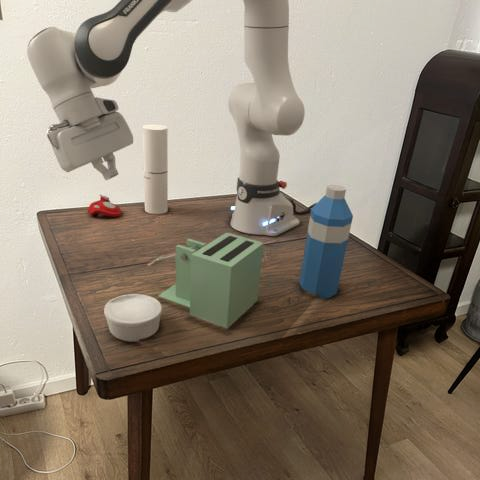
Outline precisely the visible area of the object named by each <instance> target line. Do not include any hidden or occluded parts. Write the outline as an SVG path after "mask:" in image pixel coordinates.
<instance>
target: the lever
mask: <svg viewBox="0 0 480 480" xmlns="http://www.w3.org/2000/svg"><path fill="white" fill-rule="evenodd" d="M188 248H191V249H195V250H196V251H198V250H199V249H198V246H197V244H196V245H192V246H189V247H188ZM171 261H176V253H173V254H170V255H167V256H165V255H161V256H159V257H157V258H155V259H154V260H152V261H150V262H149V263H147V264H146V267H147V268H148V269H152V268H153V267H155V266H157V265H160V264H164V263H167V262H171Z"/></svg>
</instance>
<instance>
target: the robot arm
mask: <svg viewBox="0 0 480 480" xmlns="http://www.w3.org/2000/svg"><path fill="white" fill-rule="evenodd" d="M192 1H193V0H119V2H117V4H116V5H114V6H113V7H112V8H111V9H110V10H108V11H106V12H104V13H100V14H97V15H95V16H94V15H93V16H92V17H90V18H87V19H86V20H84V21H83V22H82V23H81V24H80V25H79V27H78V29H77V30H76V32H72V31H66V30H64V29H63V30H62V29H59V28H58V27H56V26H49V27H46V28H43V29H42V30H40V31H39V32H37V33H36V34H35V35H34V36H32V38H31V39H29V42H28V44H27V49H26V55H27V58H28V61H29V63H30V66H31V68H32V70H33V73H34V74H35V77H36V79H37V81H38V83H39V85H40V87H41V88H42V90H43V91H44V92H45V94H46V95H47V96H48V98H49V99H50V103H51V106H52V109H53V111H54V113H55V115H56V117H57V119H58V121H59V122H58V123H53V124H50V125H49V126H48V129H47V130H46V136H47V139H48V141H49V143H50V145H51V148H52V152H53V153H54V156H55V158H56V160H57V163H58V164H59V167H60V169H61V170H62V171H64V172H66V173H70V172H72V171H75V170H77V169H79V168H82V167H84V166H86V165H88V164H90V163H91V165H92V167H93V168H94V169H96V171H97V172H99V173H100V174H101V175H102V177H103V179H104V181H108V180H111V179H113V178H115V177H117V176H119V171H118V169H117V166H116V155H115V154H114V153H116V152H118V151H120V150H123V149H125V148H126V147H129V146H131V145H133V144H134V136H133V133H132V130H131V128H130V126H129V125H128V123H127V121H126V119H125V117H124V116H123V114H122V113H121V112H119V109H120V108H119V104H118V103H117V101H116V100H114V99H108V98H102V97H98V96H96V95H94V93H93V91H92V89H95V88H100V87H106V86H110V85H112V84H114V82H116V81H117V80H118V78H119V77H120V75H121V73H122V72H123V70H124V69H126V66H127V65H128V63H129V60H130V57H131V54H132V50H133V46H134V44H135V42H136V40H137V39H138V38H139V37H140V35H141V34H142V33H143V32H144V31H145V30H147V28H148V27H149V26H150V25H151V24H152V23H153V22H154V21H155V20H156V18H158V16H160V15H161V14H162V13H164V12H168V13H177V12H179V11H181V10H182V9H183V8H185V7H186V6H187V5H189V4H190V3H191V2H192ZM242 1H243V5H244V14H243V53H244V54H243V59H244V62H245V65H246V67H247V68H248V70H249V72H250V73H251V76H252V79H253V82H244V83H239V84H237V85H236V86H234V87H232V89H231V91H230V93H229V95H228V98H227V108H228V111H229V113H230V115H231V117H232V119H233V121H234V123H235V128H236V131H237V136H238V141H239V142H238V143H239V150H240V158H239V175H238V176H239V177H237V182H236V198H235V202H234V206H231V207H230V210H231V211H233V212H232V214H231V220H230V223H229V225H230V226H231V228H232V229H234V230H236V231H238V232H241V233H244V234H249V235H258V236H259V235H261V236H269V237H276V236H278V235H280V234H282V233H285V232H287V231H289V230H291V229H293V228H294V227H297V226H299V225H300V220H299V219H298V217H296V216H295V215H304V214H308V213H309V212H310V211H311V208H312V207H313V206H314V205H315V204H316V203H317V202H315V203H313V204H311V205H310V206H308V207H307V208H306V209H305V210H301V211H297V209H296V208H297V206H296V203H295V202H294V199H292V198H290V197H286V196H285V195H283V194H282V193H281V189H282V190H285V189H286V188H287V186H288V183H287V182H286V181H283V180H279V181H278V175H279V168H280V167H279V166H280V152H279V149H278V148H277V146H276V144H275V141H274V138H273V136H281V137H282V136H285V137H286V136H292V135H294V134H296V133H297V132H298V131H299V130H300V128H301V127H302V125H303V123H304V120H305V114H306V113H305V106H304V103H303V101H302V100H301V98H300V97H299V95H298V94H297V92H296V91H297V90H296V88H295V86H294V83H293V80H292V79H293V78H292V75H291V72H290V64H289V28H290V27H289V25H290V6H289V5H290V4H289V0H242ZM95 96H96V97H95ZM104 163H107V167H106V165H104ZM280 188H281V189H280ZM294 214H295V215H294Z"/></svg>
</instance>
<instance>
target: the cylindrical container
mask: <svg viewBox="0 0 480 480" xmlns="http://www.w3.org/2000/svg"><path fill="white" fill-rule="evenodd" d="M141 128H142V161H143V164H142V165H143V192H144V193H143V197H144V199H143V201H144V211H145V212H146V213H148V214H150V215H163V214H166V213H168V211H169V210H168V209H169V208H168V207H169V205H168V202H169V200H168V199H169V198H168V197H169V194H168V193H169V191H168V187H169V185H168V184H169V182H168V179H169V178H168V177H169V176H168V173H169V171H168V170H169V169H168V168H169V167H168V166H169V165H168V164H169V163H168V158H169V157H168V126H166V125H163V124H155V123H152V124H151V123H149V124H143V125H142V127H141Z"/></svg>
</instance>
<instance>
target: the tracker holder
mask: <svg viewBox="0 0 480 480" xmlns="http://www.w3.org/2000/svg"><path fill="white" fill-rule="evenodd" d="M99 196H100V198H99V200H96V201H93V202H91V203H90V204H89V206H88V208H87V212H88V214H89V215H90V217H91V216H92V217H94V216H95V215H97V214H100V215H102V216H103V215H104V216H107V217H111V218H118V217H121V215H122V209H121V208H120V207H119V206H118V205H116V204H115V203H113V202H111V200H110V198H109V197H108V196H106V195H102V194H99Z"/></svg>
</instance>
